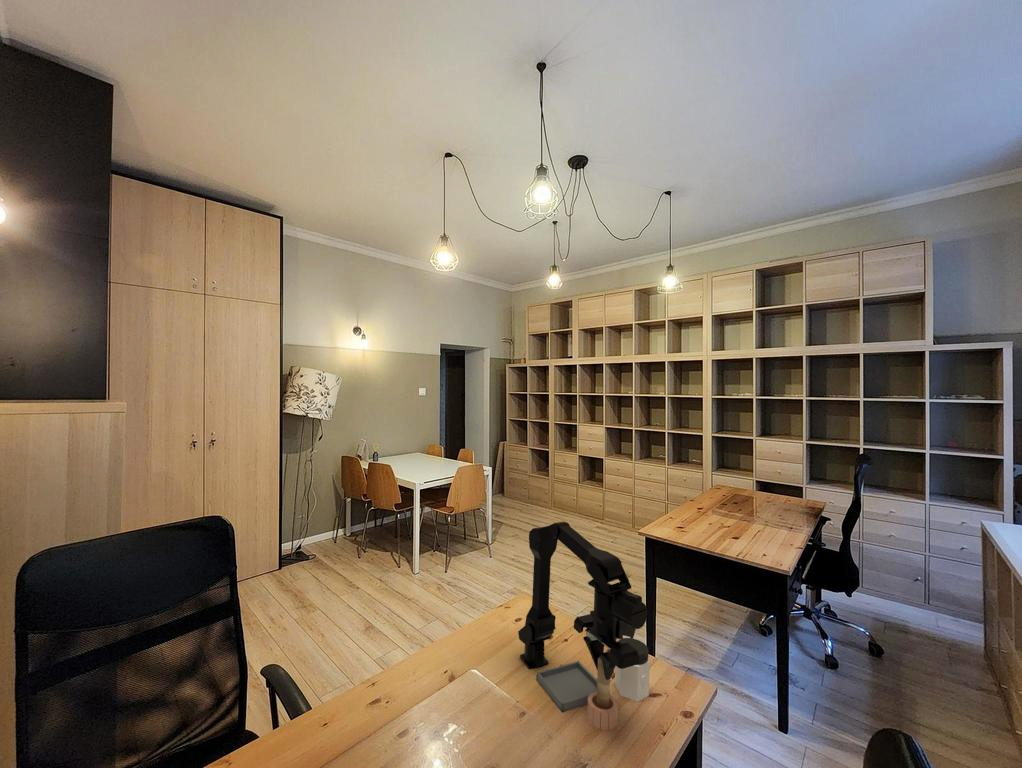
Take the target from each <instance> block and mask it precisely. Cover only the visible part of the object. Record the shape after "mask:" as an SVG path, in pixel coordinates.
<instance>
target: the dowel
mask: <svg viewBox="0 0 1022 768" xmlns="http://www.w3.org/2000/svg"><path fill="white" fill-rule="evenodd" d="M596 672H597V675H596V676H597V677H596V679H597V704H598V705H600V706H602V707H607V706H608V705H609V695H610V687H611V686H610V683H611V678H610V679H609V680H606V678H605V674H604V669H603V664H602V659H601V656H600V657H598V671H597V670H596Z"/></svg>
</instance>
